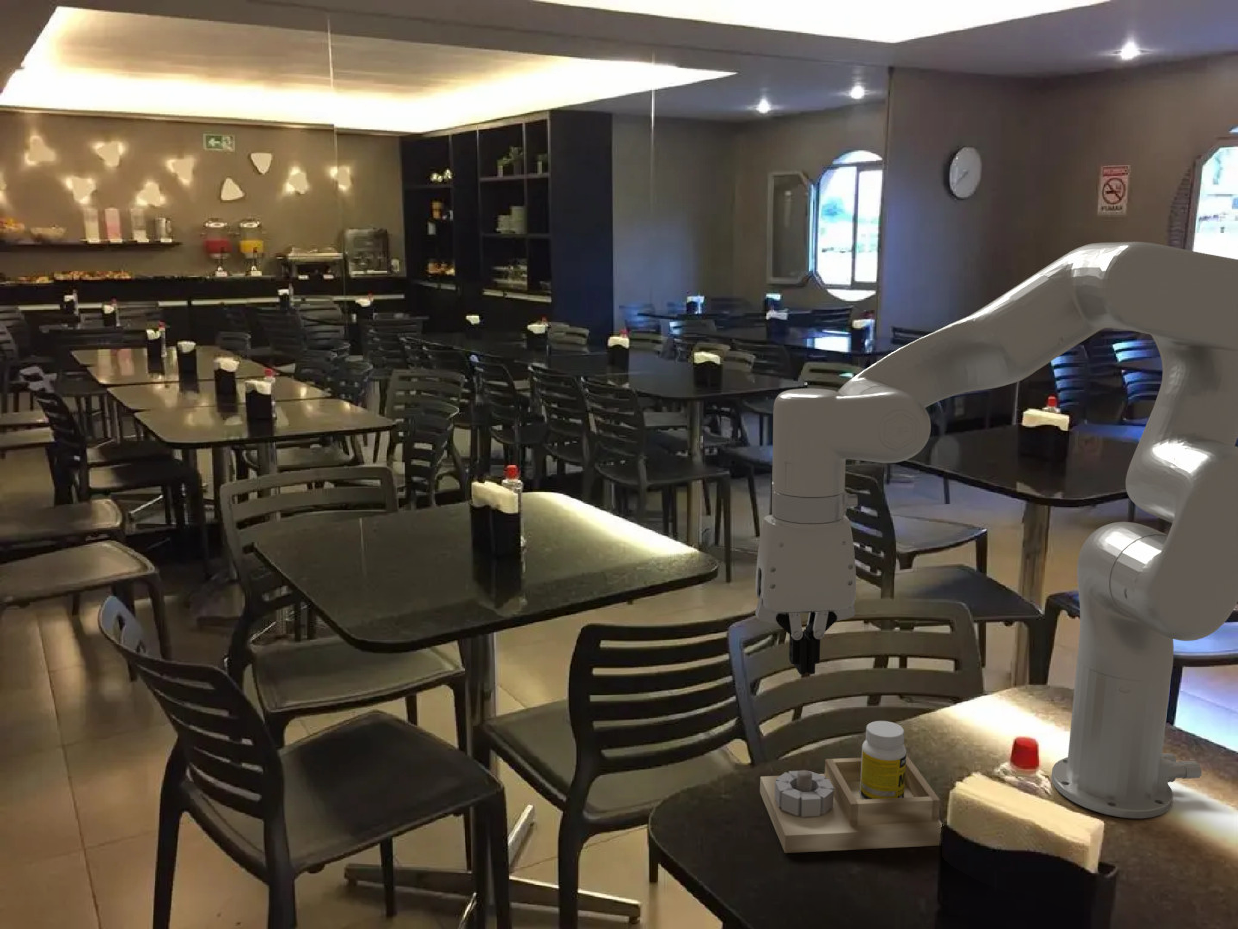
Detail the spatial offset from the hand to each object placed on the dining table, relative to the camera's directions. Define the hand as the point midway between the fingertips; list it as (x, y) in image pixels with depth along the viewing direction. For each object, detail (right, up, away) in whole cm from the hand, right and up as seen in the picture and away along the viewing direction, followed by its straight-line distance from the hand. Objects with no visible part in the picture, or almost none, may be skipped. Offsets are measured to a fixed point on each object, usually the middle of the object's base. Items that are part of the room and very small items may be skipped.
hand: (804, 669), depth 108 cm
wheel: (0, -15, 0) cm, 15 cm away
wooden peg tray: (+5, -17, +1) cm, 17 cm away
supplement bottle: (+9, -15, +1) cm, 17 cm away
